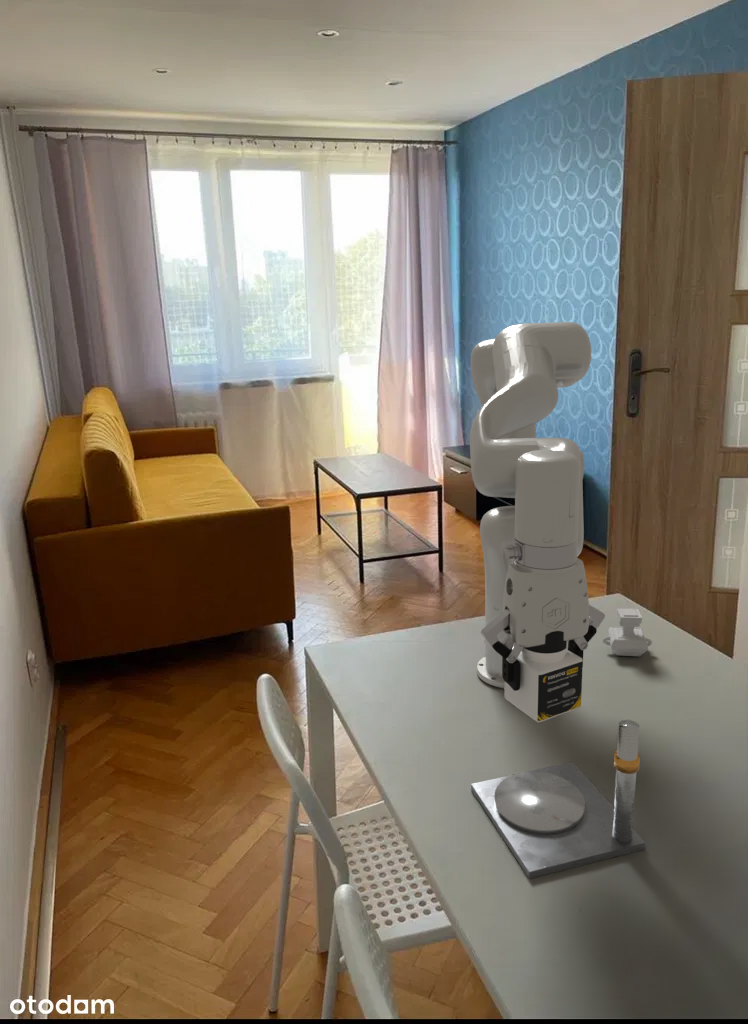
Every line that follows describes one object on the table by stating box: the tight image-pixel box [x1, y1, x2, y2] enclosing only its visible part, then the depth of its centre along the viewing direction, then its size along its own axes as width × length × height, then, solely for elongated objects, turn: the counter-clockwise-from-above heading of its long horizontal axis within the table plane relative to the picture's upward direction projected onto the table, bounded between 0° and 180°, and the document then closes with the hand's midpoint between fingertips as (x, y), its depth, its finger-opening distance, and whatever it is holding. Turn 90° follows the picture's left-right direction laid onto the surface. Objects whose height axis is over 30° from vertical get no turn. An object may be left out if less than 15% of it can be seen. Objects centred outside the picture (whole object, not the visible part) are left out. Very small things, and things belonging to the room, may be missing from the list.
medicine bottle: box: [503, 631, 584, 723], centre depth 99 cm, size 7×7×12 cm
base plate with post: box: [470, 719, 646, 879], centre depth 102 cm, size 18×16×17 cm
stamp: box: [602, 608, 653, 657], centre depth 147 cm, size 9×7×8 cm
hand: (542, 679), depth 100 cm, fingers closed on medicine bottle, 8 cm apart
